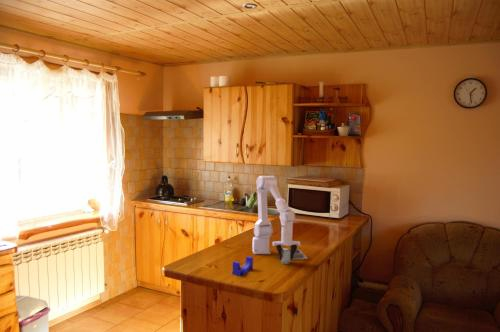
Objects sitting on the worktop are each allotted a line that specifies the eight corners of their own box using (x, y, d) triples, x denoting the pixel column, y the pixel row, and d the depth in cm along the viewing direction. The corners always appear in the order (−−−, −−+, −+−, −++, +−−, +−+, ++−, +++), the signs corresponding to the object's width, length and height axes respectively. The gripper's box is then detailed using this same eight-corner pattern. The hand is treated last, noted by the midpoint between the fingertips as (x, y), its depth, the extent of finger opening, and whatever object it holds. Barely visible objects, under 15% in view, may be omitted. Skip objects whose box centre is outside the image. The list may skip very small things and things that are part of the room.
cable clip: (239, 276, 185) (240, 264, 185) (232, 274, 188) (232, 262, 187) (255, 270, 195) (255, 258, 194) (247, 268, 197) (248, 256, 197)
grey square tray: (286, 259, 211) (286, 255, 211) (281, 253, 223) (281, 248, 223) (307, 259, 213) (308, 254, 213) (301, 252, 225) (302, 248, 225)
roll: (282, 264, 204) (283, 251, 204) (280, 261, 209) (281, 248, 208) (290, 264, 205) (291, 250, 204) (288, 261, 209) (289, 248, 209)
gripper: (274, 235, 201) (273, 261, 202) (302, 235, 203) (301, 261, 204) (272, 232, 208) (271, 257, 209) (298, 232, 210) (297, 257, 211)
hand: (285, 259), depth 207 cm, fingers open, 5 cm apart
